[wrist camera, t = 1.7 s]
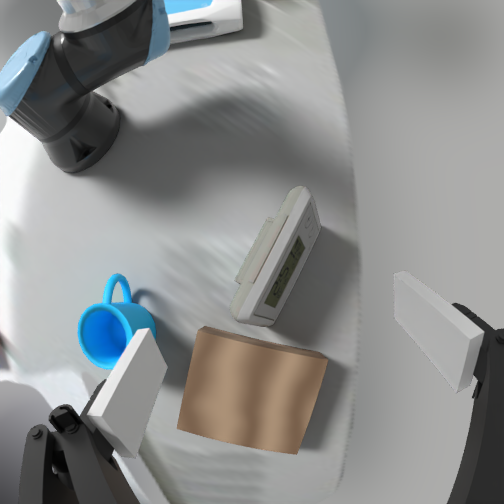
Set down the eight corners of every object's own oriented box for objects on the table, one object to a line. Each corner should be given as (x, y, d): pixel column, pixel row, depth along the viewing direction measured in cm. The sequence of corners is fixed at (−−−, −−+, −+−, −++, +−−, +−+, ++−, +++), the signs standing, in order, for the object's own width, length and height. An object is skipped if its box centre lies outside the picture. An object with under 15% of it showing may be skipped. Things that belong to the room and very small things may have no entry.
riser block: (185, 414, 36) (176, 428, 31) (205, 325, 38) (197, 330, 33) (292, 438, 35) (296, 454, 30) (319, 352, 37) (328, 359, 32)
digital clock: (264, 332, 37) (268, 347, 27) (212, 290, 38) (196, 289, 28) (336, 239, 39) (363, 221, 29) (286, 200, 40) (296, 169, 29)
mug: (157, 359, 37) (135, 374, 29) (108, 353, 37) (79, 364, 29) (156, 276, 39) (133, 271, 31) (107, 274, 39) (77, 270, 31)
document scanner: (133, 12, 49) (127, -4, 43) (239, -6, 49) (238, -24, 43) (115, 58, 46) (105, 40, 40) (243, 35, 46) (242, 13, 39)
